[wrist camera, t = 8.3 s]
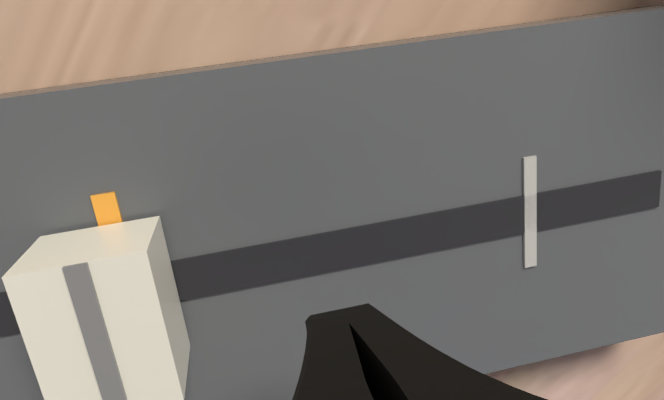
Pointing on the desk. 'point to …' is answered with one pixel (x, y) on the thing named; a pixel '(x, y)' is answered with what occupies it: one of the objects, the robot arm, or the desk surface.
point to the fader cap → (102, 313)
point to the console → (368, 193)
